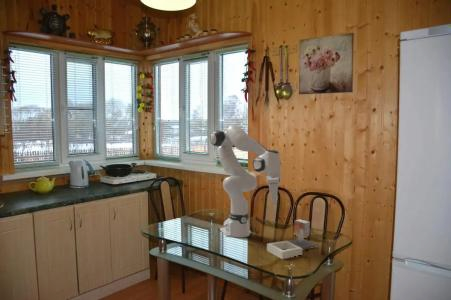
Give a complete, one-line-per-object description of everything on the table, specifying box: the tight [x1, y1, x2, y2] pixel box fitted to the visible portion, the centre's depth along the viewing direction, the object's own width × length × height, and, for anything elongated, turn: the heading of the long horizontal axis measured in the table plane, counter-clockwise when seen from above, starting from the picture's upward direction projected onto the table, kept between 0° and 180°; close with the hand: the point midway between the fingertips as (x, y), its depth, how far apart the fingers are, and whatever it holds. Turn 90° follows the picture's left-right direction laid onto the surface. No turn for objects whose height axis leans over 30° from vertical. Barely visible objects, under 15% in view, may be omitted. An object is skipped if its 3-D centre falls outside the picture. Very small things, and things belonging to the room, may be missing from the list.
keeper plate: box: [287, 232, 319, 251], centre depth 206 cm, size 14×14×8 cm
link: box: [266, 240, 303, 260], centre depth 193 cm, size 14×14×4 cm
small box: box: [293, 218, 311, 237], centre depth 223 cm, size 8×6×10 cm
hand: (274, 202), depth 195 cm, fingers open, 8 cm apart
